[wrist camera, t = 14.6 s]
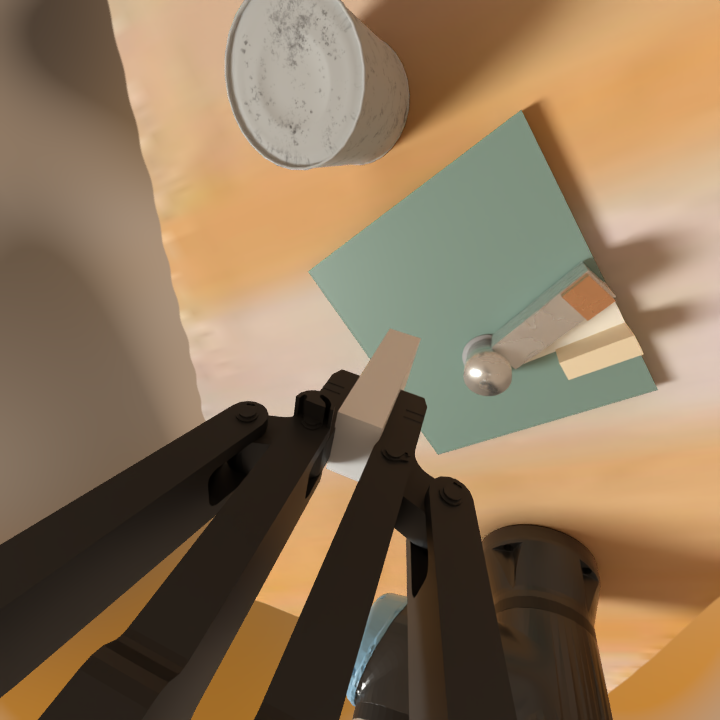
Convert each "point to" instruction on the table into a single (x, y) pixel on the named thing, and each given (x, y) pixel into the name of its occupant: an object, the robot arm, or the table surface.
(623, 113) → the table surface
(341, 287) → the board
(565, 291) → the bar
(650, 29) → the table surface
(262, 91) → the speckled grey cylinder
